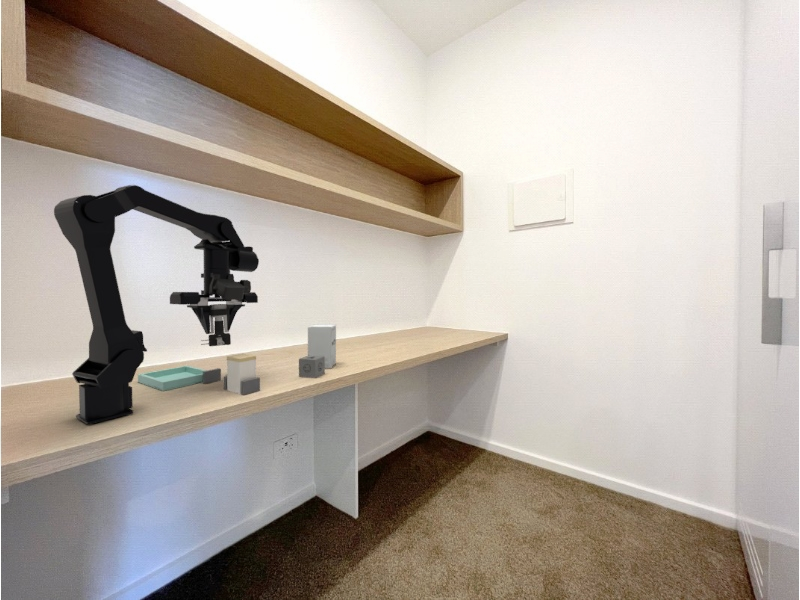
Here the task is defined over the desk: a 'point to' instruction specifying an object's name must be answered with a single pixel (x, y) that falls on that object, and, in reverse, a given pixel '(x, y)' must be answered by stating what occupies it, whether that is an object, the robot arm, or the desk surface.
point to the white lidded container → (239, 370)
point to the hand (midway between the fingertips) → (217, 333)
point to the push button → (219, 326)
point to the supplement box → (323, 343)
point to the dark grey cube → (311, 366)
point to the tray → (172, 377)
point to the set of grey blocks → (215, 375)
